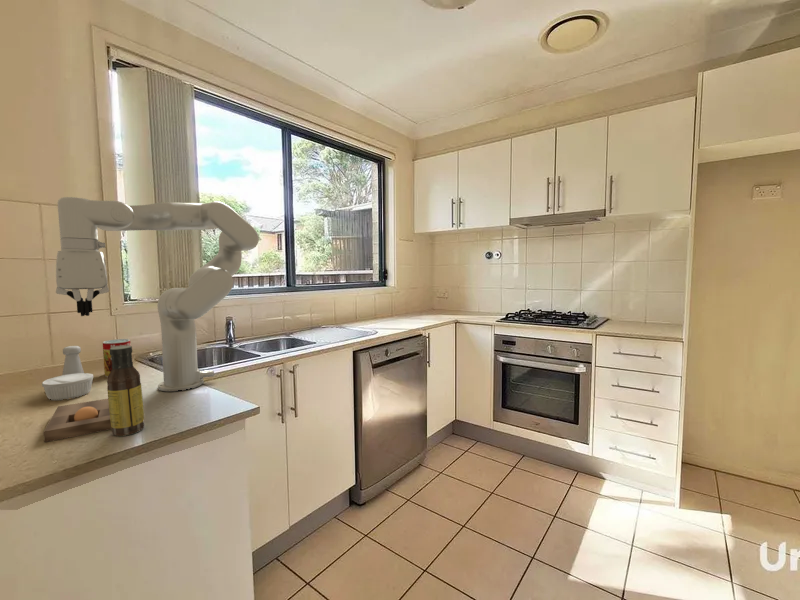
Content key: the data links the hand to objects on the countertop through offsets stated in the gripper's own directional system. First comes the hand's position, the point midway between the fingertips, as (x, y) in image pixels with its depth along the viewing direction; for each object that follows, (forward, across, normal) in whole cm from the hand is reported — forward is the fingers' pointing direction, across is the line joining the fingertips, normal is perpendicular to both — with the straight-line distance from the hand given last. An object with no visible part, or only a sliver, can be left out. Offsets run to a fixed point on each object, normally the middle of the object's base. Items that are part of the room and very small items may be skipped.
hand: (85, 315), depth 97 cm
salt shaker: (+25, +6, -26) cm, 37 cm away
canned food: (+26, -6, -36) cm, 44 cm away
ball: (+23, 0, +15) cm, 27 cm away
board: (+25, 0, +12) cm, 28 cm away
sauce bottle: (+25, -8, +25) cm, 36 cm away
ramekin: (+26, +6, -16) cm, 31 cm away
